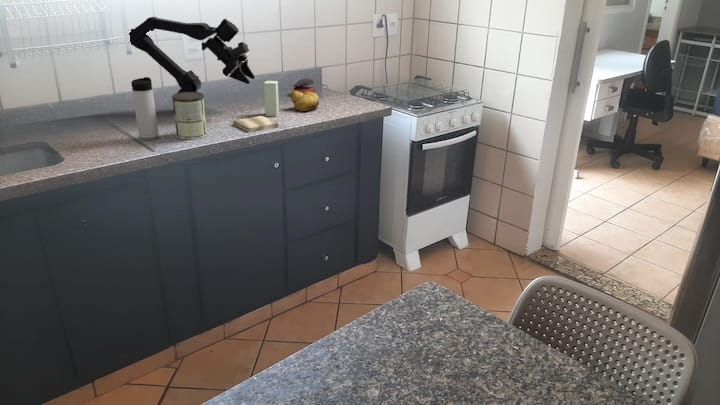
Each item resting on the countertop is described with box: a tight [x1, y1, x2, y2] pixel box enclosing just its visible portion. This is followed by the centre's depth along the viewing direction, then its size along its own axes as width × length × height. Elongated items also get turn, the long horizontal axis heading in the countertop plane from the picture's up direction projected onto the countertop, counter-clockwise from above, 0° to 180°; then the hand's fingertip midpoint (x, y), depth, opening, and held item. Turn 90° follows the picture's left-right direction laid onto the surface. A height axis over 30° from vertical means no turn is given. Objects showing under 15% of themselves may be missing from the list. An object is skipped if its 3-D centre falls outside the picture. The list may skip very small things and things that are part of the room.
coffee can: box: [171, 91, 208, 140], centre depth 186 cm, size 10×10×14 cm
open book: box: [233, 115, 279, 133], centre depth 202 cm, size 12×12×2 cm
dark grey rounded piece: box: [292, 78, 316, 93], centre depth 248 cm, size 11×10×10 cm
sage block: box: [263, 80, 280, 117], centre depth 214 cm, size 4×4×13 cm
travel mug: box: [131, 76, 160, 142], centre depth 181 cm, size 6×7×20 cm
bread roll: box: [290, 90, 320, 112], centre depth 225 cm, size 13×10×8 cm
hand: (251, 80), depth 211 cm, fingers open, 9 cm apart
